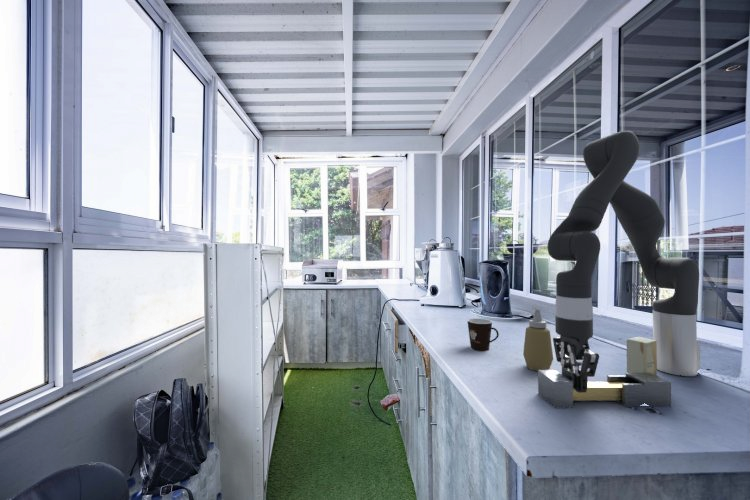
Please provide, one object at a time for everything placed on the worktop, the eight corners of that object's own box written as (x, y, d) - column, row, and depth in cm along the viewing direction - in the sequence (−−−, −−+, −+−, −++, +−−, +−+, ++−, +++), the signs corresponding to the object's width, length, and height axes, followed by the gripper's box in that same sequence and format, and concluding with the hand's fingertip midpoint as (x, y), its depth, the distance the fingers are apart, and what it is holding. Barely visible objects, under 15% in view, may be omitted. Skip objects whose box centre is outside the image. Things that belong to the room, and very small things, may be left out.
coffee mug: (464, 345, 116) (463, 318, 116) (485, 344, 117) (485, 318, 117) (476, 355, 105) (476, 326, 105) (501, 354, 105) (500, 325, 105)
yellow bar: (621, 393, 74) (621, 366, 74) (635, 401, 70) (635, 373, 70) (547, 393, 75) (547, 366, 75) (557, 401, 71) (556, 373, 71)
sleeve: (650, 395, 75) (650, 372, 75) (671, 406, 70) (671, 382, 70) (607, 395, 75) (607, 372, 75) (625, 406, 70) (624, 382, 70)
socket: (555, 393, 76) (554, 369, 76) (573, 408, 69) (572, 381, 69) (538, 393, 76) (537, 369, 76) (554, 408, 69) (554, 381, 69)
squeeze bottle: (557, 374, 88) (557, 312, 88) (527, 372, 89) (527, 311, 90) (547, 364, 96) (547, 307, 96) (520, 362, 97) (519, 306, 97)
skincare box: (646, 391, 77) (646, 343, 77) (626, 385, 81) (625, 338, 81) (658, 386, 80) (657, 339, 80) (637, 380, 84) (637, 335, 84)
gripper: (612, 322, 66) (613, 402, 65) (570, 309, 80) (571, 375, 80) (577, 322, 66) (578, 402, 66) (541, 309, 80) (542, 375, 80)
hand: (574, 386), depth 73 cm, fingers closed on yellow bar, 4 cm apart
